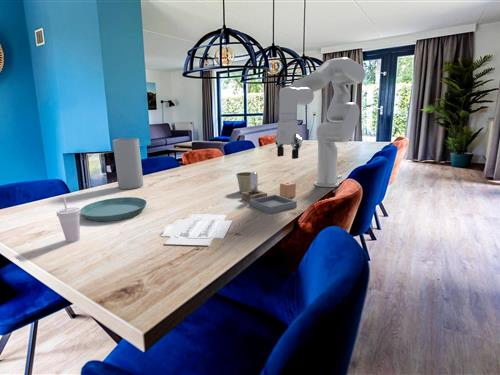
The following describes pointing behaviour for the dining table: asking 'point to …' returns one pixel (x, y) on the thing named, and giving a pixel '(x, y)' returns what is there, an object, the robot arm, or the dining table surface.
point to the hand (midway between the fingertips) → (287, 157)
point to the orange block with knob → (287, 189)
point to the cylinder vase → (128, 163)
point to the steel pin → (254, 183)
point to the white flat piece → (197, 229)
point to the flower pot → (244, 181)
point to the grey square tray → (273, 203)
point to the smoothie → (70, 222)
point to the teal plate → (113, 209)
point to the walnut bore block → (249, 196)
